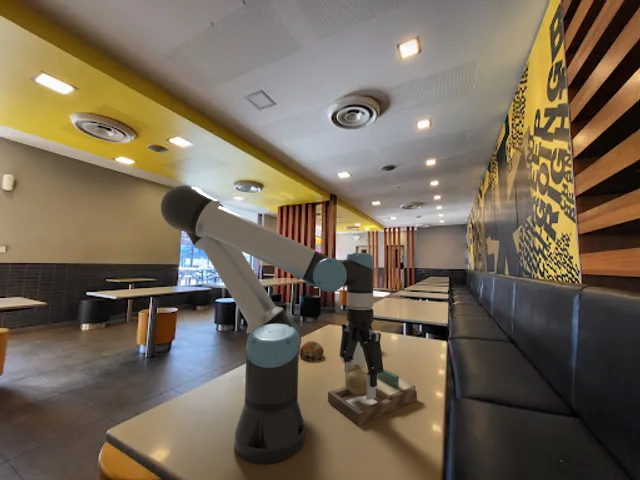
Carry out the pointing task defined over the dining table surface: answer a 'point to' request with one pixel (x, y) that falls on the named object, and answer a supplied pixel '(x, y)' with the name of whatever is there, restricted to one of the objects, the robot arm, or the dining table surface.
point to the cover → (391, 384)
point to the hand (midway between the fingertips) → (359, 391)
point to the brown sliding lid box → (369, 403)
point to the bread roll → (311, 350)
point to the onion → (357, 380)
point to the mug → (357, 357)
